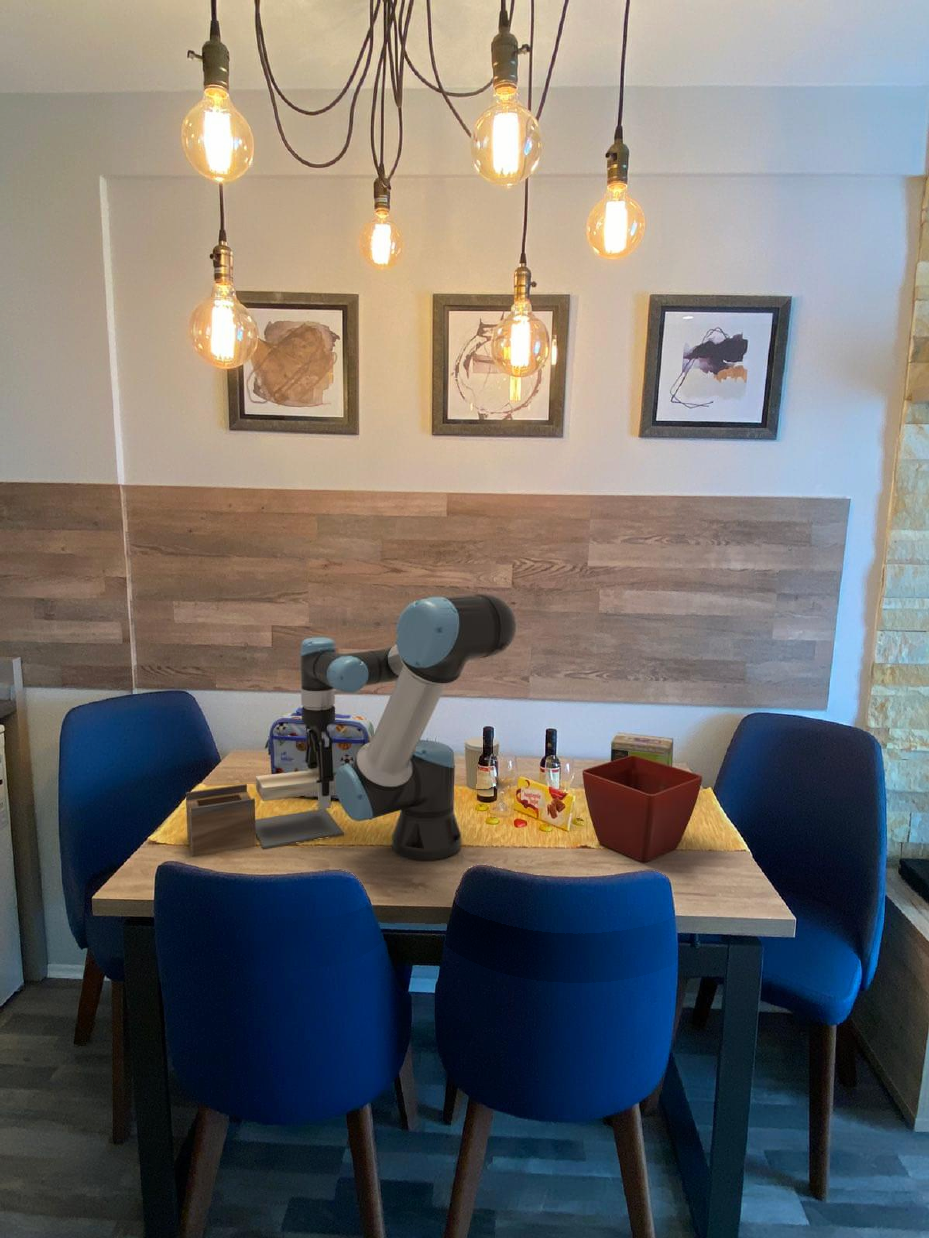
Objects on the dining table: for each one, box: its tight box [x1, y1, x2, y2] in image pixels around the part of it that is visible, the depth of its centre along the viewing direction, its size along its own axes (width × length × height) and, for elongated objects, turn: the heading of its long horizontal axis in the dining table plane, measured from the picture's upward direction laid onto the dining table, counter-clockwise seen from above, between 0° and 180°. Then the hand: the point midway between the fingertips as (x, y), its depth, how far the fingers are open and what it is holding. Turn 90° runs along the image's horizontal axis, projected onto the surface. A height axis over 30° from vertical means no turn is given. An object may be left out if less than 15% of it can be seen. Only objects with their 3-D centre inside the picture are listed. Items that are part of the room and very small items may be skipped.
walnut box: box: [185, 783, 257, 857], centre depth 165 cm, size 10×13×10 cm
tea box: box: [610, 732, 674, 767], centre depth 198 cm, size 15×10×15 cm, turn 69°
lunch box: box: [264, 707, 375, 799], centre depth 193 cm, size 28×10×22 cm, turn 84°
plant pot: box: [582, 755, 703, 863], centre depth 167 cm, size 19×19×17 cm
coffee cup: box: [463, 736, 500, 790], centre depth 202 cm, size 9×9×12 cm
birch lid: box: [255, 769, 334, 802], centre depth 172 cm, size 8×16×3 cm, turn 116°
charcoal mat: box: [255, 808, 345, 850], centre depth 173 cm, size 15×18×1 cm
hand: (319, 801), depth 175 cm, fingers closed on birch lid, 8 cm apart
